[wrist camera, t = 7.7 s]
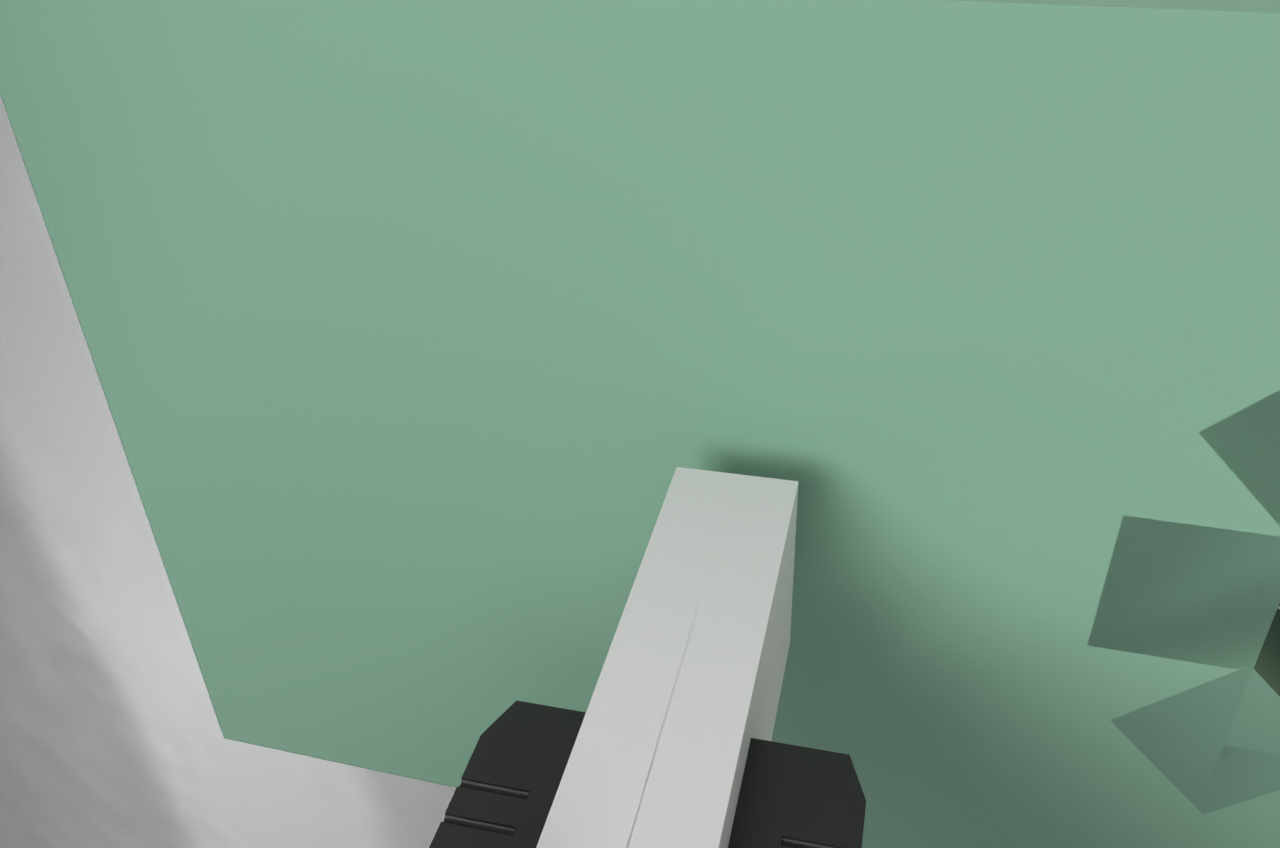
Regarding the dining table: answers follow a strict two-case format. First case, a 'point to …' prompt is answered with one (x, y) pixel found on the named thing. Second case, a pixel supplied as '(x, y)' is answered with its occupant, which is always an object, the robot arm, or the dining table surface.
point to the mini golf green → (704, 368)
